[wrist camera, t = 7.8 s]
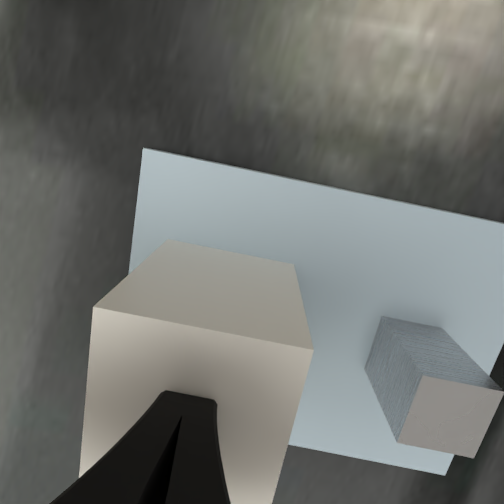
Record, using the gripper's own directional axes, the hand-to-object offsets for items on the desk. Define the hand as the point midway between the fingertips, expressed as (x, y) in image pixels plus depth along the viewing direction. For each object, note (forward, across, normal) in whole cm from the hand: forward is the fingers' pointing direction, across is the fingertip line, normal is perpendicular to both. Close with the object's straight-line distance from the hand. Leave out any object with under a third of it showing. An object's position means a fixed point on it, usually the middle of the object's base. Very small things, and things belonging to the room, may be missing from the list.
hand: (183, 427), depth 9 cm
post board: (+8, -4, 0) cm, 9 cm away
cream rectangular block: (+7, 0, 0) cm, 7 cm away
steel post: (+8, -8, 0) cm, 11 cm away
